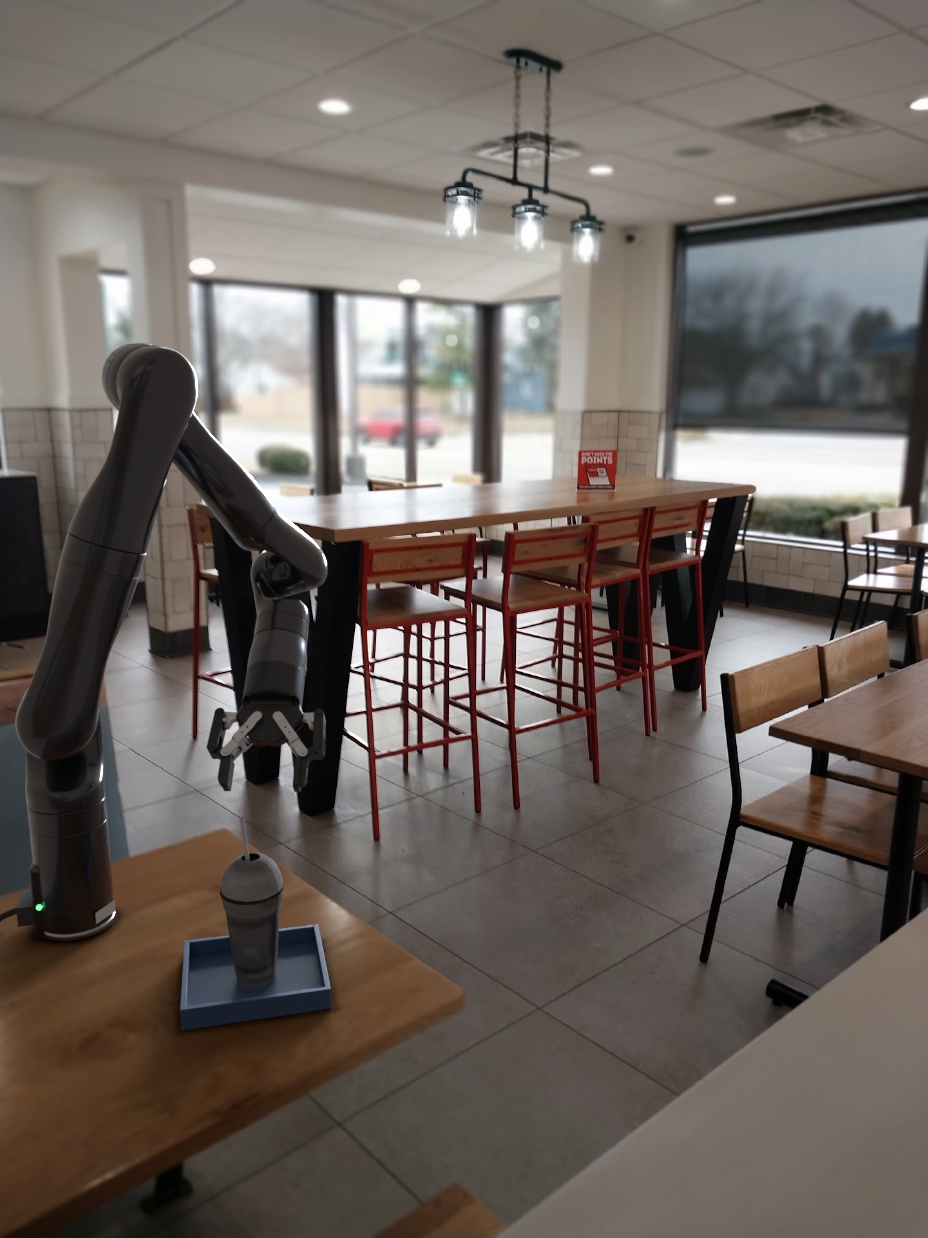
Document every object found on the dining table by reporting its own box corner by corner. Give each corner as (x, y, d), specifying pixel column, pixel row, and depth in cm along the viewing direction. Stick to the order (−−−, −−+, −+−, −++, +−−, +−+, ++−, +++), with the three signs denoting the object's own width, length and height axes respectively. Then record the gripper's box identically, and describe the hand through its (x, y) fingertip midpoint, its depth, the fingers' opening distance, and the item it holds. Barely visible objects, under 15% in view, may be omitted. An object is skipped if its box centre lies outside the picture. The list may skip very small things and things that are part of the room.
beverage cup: (252, 1005, 106) (244, 839, 102) (211, 981, 110) (202, 822, 106) (300, 975, 112) (295, 817, 108) (259, 954, 116) (252, 801, 112)
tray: (181, 1031, 102) (179, 1010, 102) (185, 959, 116) (184, 940, 115) (331, 1009, 106) (330, 989, 106) (318, 942, 120) (318, 924, 119)
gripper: (215, 657, 120) (195, 776, 111) (327, 658, 120) (316, 777, 111) (227, 686, 126) (209, 801, 118) (334, 686, 126) (324, 801, 118)
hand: (261, 789), depth 114 cm, fingers open, 8 cm apart
